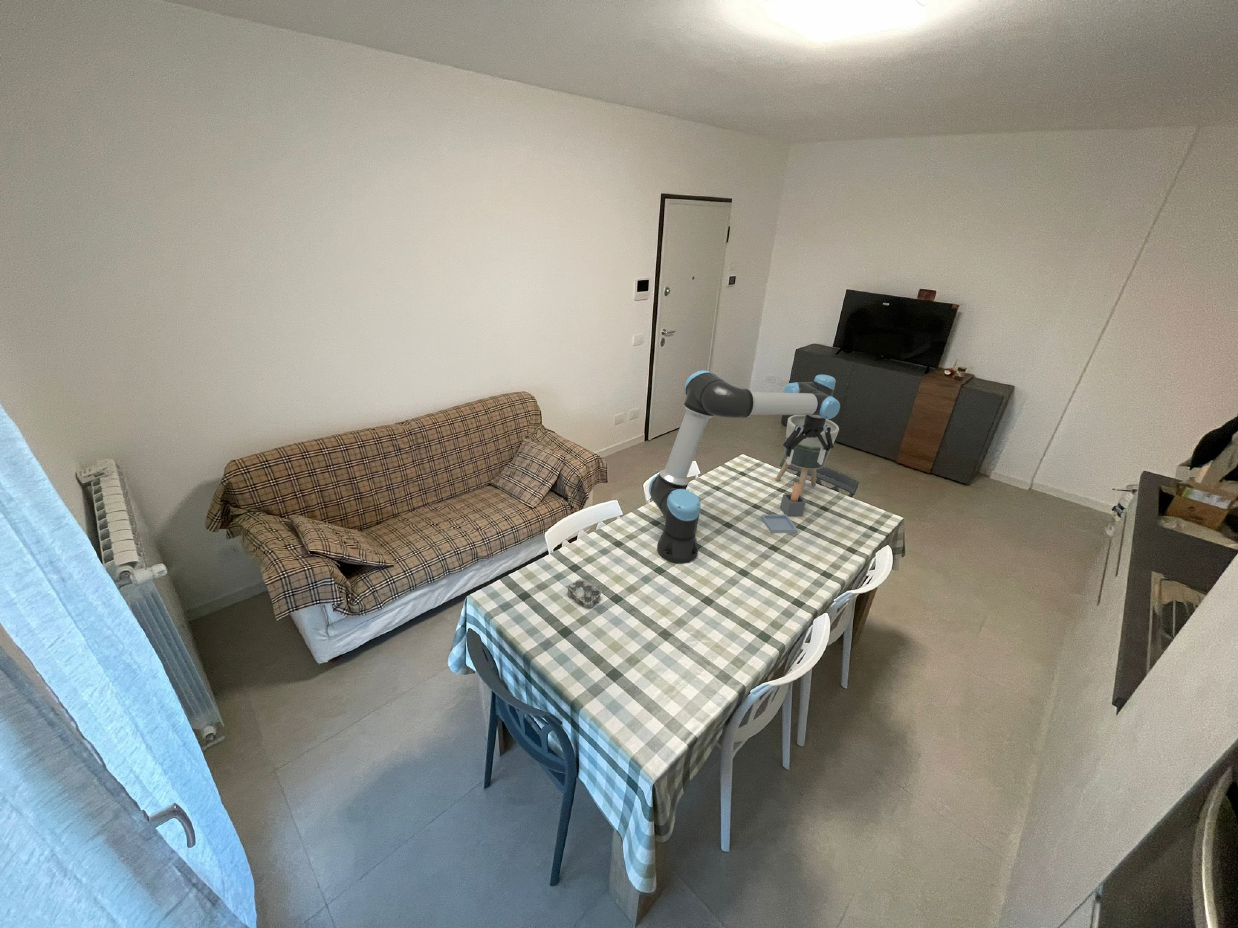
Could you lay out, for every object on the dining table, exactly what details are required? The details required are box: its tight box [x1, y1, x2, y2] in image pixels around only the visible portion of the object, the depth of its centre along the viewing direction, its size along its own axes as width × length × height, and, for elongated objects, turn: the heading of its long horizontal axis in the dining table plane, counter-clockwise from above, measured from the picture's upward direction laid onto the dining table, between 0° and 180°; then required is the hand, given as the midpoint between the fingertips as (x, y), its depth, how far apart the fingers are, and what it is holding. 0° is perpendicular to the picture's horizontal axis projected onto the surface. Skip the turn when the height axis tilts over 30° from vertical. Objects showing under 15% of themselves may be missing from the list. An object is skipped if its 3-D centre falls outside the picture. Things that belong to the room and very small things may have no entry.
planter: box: [774, 415, 840, 499], centre depth 226 cm, size 22×22×33 cm
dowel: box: [790, 481, 802, 502], centre depth 209 cm, size 3×3×14 cm
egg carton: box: [565, 578, 603, 609], centre depth 159 cm, size 11×8×4 cm
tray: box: [760, 514, 799, 534], centre depth 203 cm, size 11×11×2 cm
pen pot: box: [779, 493, 806, 518], centre depth 211 cm, size 7×7×8 cm
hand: (803, 463), depth 202 cm, fingers open, 13 cm apart
